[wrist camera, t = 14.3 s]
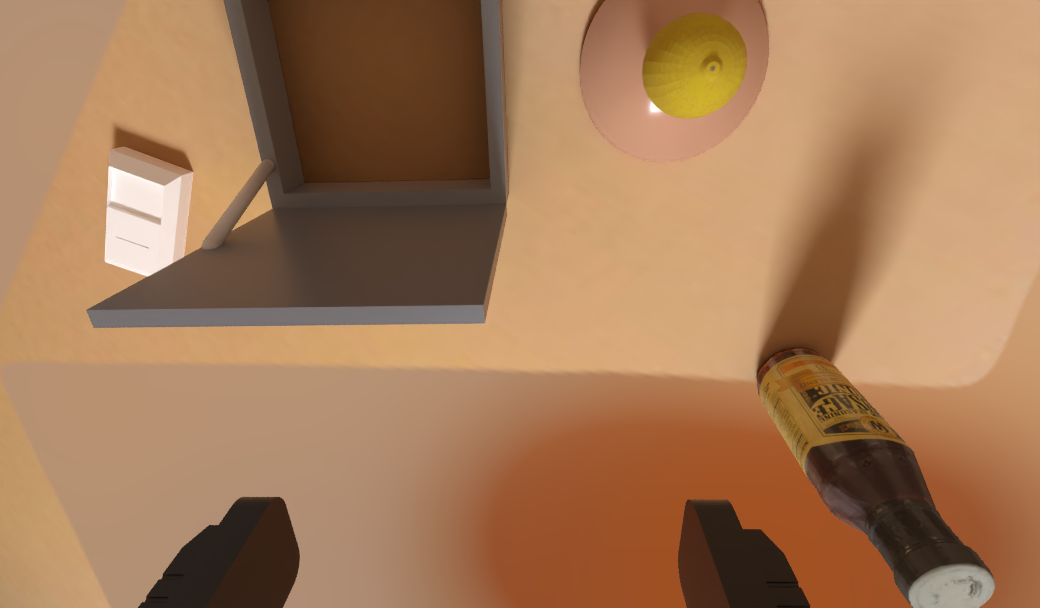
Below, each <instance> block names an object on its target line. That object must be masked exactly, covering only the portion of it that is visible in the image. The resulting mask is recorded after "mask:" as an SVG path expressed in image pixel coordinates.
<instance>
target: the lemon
mask: <svg viewBox="0 0 1040 608" xmlns="http://www.w3.org/2000/svg"><path fill="white" fill-rule="evenodd" d="M746 69H747V51H746V46H745V43H744V41H743V39H742V37H741V34H740V32H739V31H738V30H737V29H736V28H735V27H734V26H733V25H732V24H731V23H730V22H729V21H727V20H725V19H723V18H722V17H720V16H718V15H713V14H709V13H693V14H688V15H685V16H682V17H679V18H676V19H675V20H673V21H672V22H670V23H669V24H667V25H666V26H664V27H663V28H662V29H661V30H660V31H659V32H658V33H657V35H656V36H655V37H654V38H653V40H652V41H651V43H650V45H649V47H648V48H647V51H646V54H645V57H644V60H643V67H642V78H643V85H644V88H645V91H646V93H647V95H648V97H649V99H650V100H651V101H652V102H653V104H654V105H655V106H656V107H657V108H658V109H660V110H661V111H663V112H664V113H665V114H668V115H670V116H673V117H676V118H684V119H693V118H698V117H703V116H706V115H708V114H711V113H713V112H715V111H717V110H719V109H720V108H721V107H723V106H724V105H725V104H726V103H728V102H729V101H730V99H731V98H732V97H733V96H734V95H735V94H736V92H737V91H738V89H739V87H740V85H741V84H742V82H743V79H744V76H745V72H746Z"/></svg>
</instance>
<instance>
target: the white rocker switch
mask: <svg viewBox="0 0 1040 608" xmlns="http://www.w3.org/2000/svg"><path fill="white" fill-rule="evenodd" d="M192 181H193V172H192V171H190V170H187V169H184V168H182V167H179V166H176V165H173V164H171V163H168V162H165V161H163V160H160V159H157V158H155V157H152V156H149V155H146V154H144V153H141V152H138V151H136V150H133V149H130V148H127V147H125V146H124V147H119V148H114V149H110V155H109V173H108V196H107V219H106V242H105V262H107V263H110V264H113V265H115V266H118V267H121V268H124V269H127V270H130V271H133V272H136V273H139V274H142V275H145V276H150V275H152V274H154V273H155V272H157V271H159V270H161V269H163V268H165V267H167V266H168V265H170V264H172V263H174V262H176V261H178V260H179V259H181V258H183V257H184V252H185V243H186V234H187V226H188V217H189V208H190V199H191V190H192Z"/></svg>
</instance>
